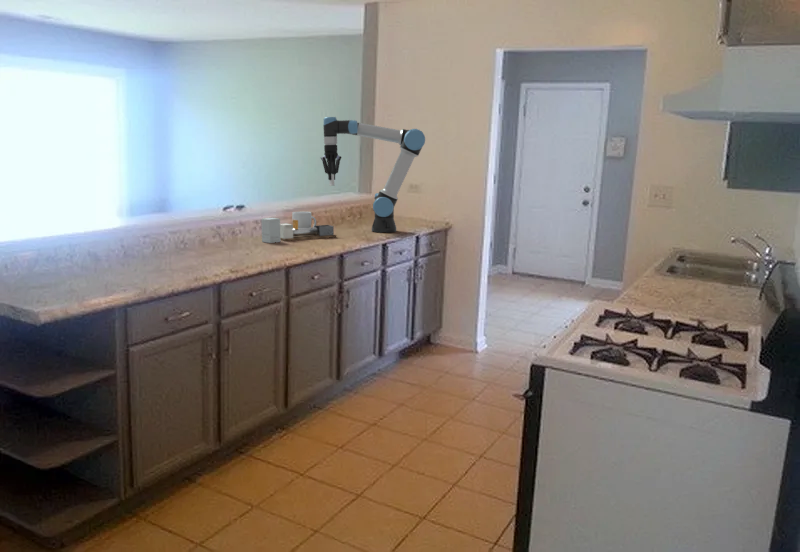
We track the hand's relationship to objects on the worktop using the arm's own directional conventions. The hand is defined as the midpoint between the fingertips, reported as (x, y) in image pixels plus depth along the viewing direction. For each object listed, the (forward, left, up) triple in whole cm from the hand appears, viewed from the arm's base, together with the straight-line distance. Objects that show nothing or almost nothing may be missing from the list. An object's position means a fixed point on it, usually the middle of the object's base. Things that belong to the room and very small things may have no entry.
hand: (332, 185), depth 394 cm
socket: (+8, +36, -27) cm, 45 cm away
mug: (+11, +13, -28) cm, 33 cm away
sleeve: (-4, +15, -27) cm, 31 cm away
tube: (+3, +28, -26) cm, 38 cm away
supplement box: (+10, +46, -28) cm, 55 cm away
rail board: (+2, +24, -28) cm, 37 cm away
